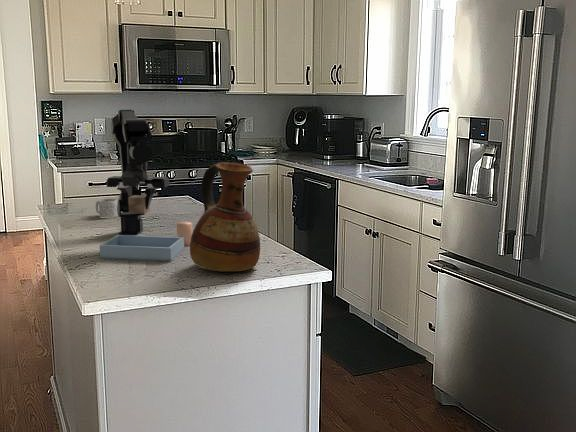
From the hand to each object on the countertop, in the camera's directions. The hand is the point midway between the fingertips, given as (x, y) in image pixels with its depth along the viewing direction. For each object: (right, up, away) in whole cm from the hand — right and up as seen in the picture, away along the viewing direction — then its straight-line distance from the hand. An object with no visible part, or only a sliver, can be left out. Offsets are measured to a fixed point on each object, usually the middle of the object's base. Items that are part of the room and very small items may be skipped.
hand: (139, 208), depth 201 cm
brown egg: (+14, -11, +4) cm, 18 cm away
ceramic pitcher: (+30, -17, -22) cm, 41 cm away
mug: (-24, -3, +46) cm, 52 cm away
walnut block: (0, -1, 0) cm, 1 cm away
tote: (+3, -14, -8) cm, 16 cm away
